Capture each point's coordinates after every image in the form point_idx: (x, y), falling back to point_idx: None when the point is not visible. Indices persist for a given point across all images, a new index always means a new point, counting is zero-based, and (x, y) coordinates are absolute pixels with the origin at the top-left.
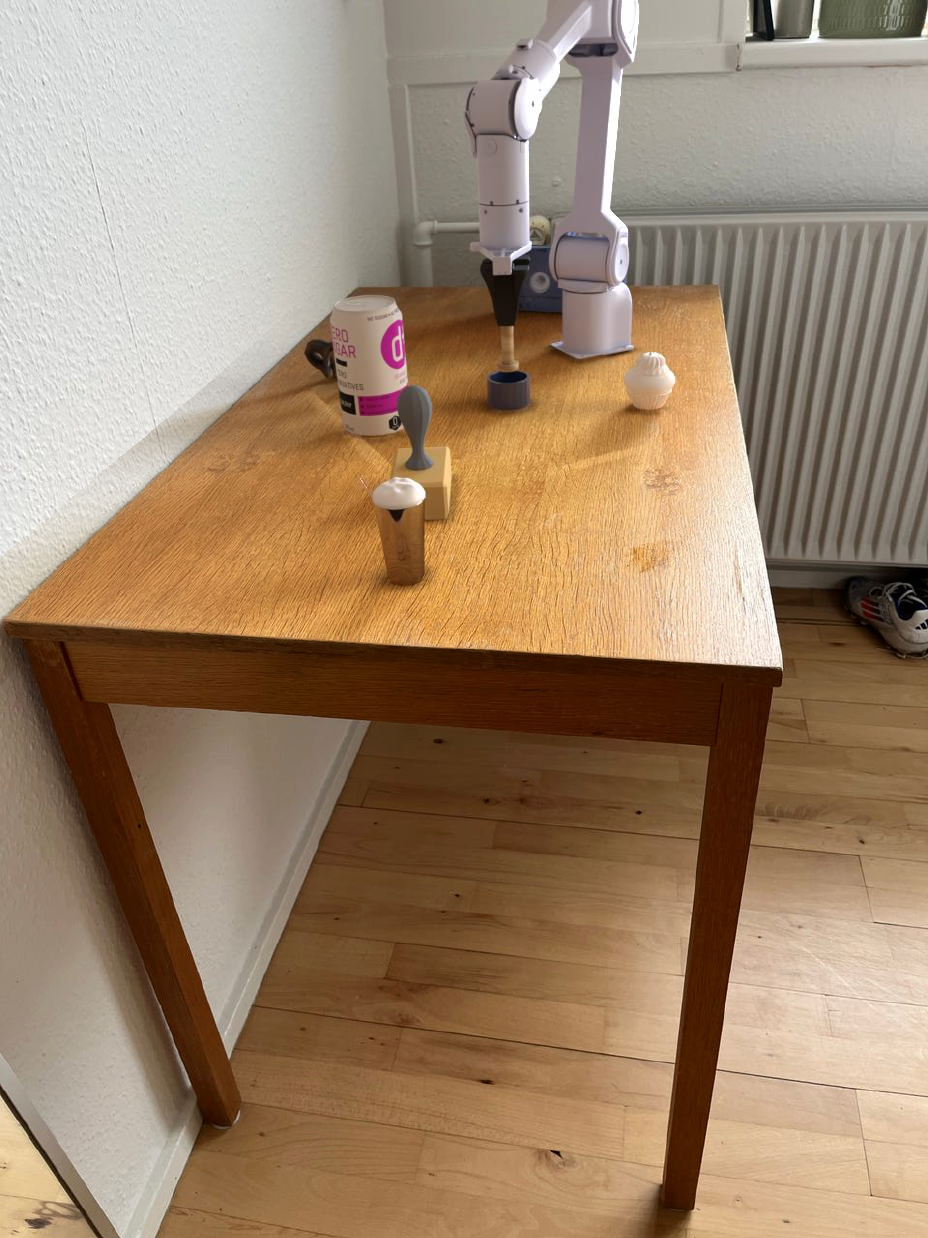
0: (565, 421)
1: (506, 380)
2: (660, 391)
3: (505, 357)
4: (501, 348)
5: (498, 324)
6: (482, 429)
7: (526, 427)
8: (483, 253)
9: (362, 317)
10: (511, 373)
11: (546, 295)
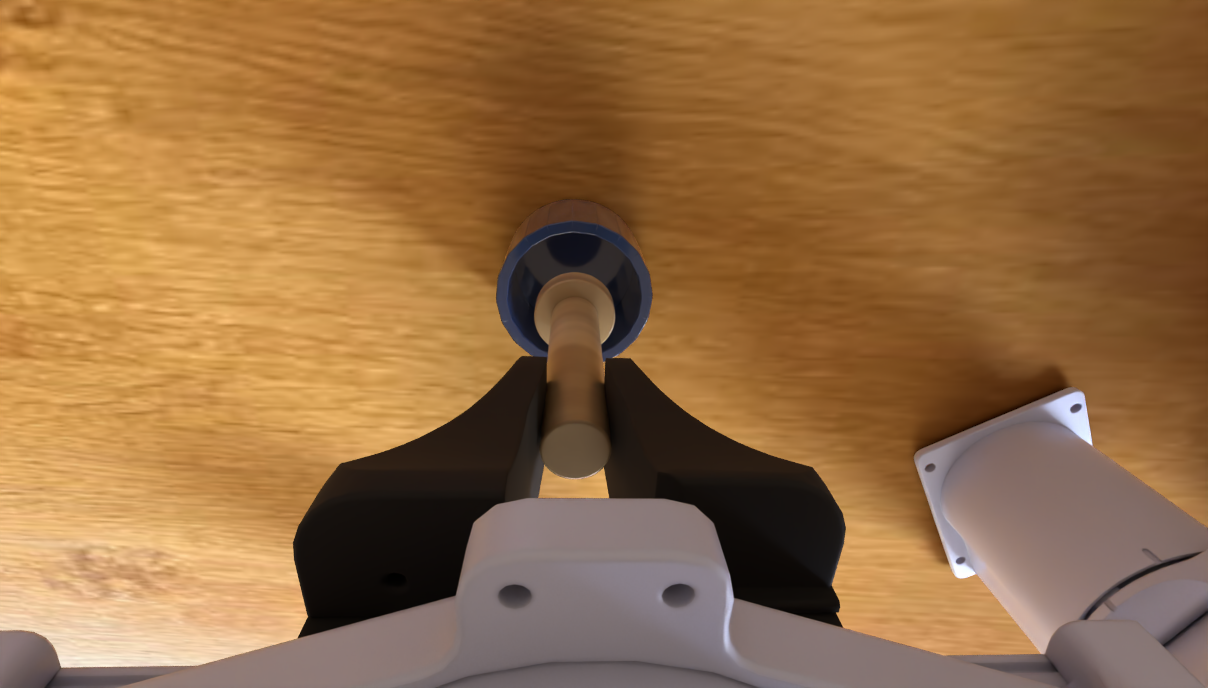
0: (448, 411)
1: (636, 278)
2: None
3: (551, 320)
4: (570, 318)
5: (515, 362)
6: (374, 186)
7: (399, 315)
8: (306, 646)
9: None
10: (638, 303)
11: None
